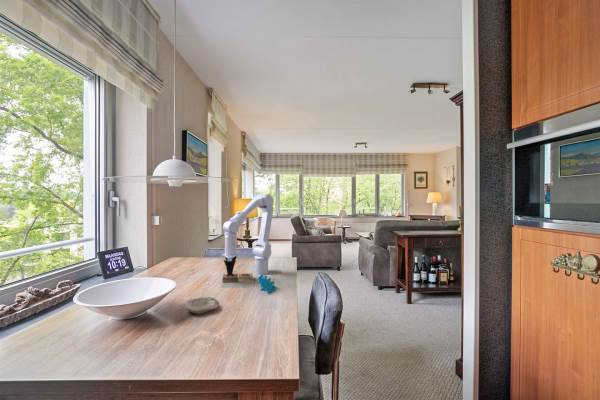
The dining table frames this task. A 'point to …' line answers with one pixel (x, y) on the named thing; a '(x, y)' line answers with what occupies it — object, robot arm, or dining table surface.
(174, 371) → the dining table surface
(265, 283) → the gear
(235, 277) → the block walnut
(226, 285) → the board
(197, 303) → the fossil
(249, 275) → the block birch
